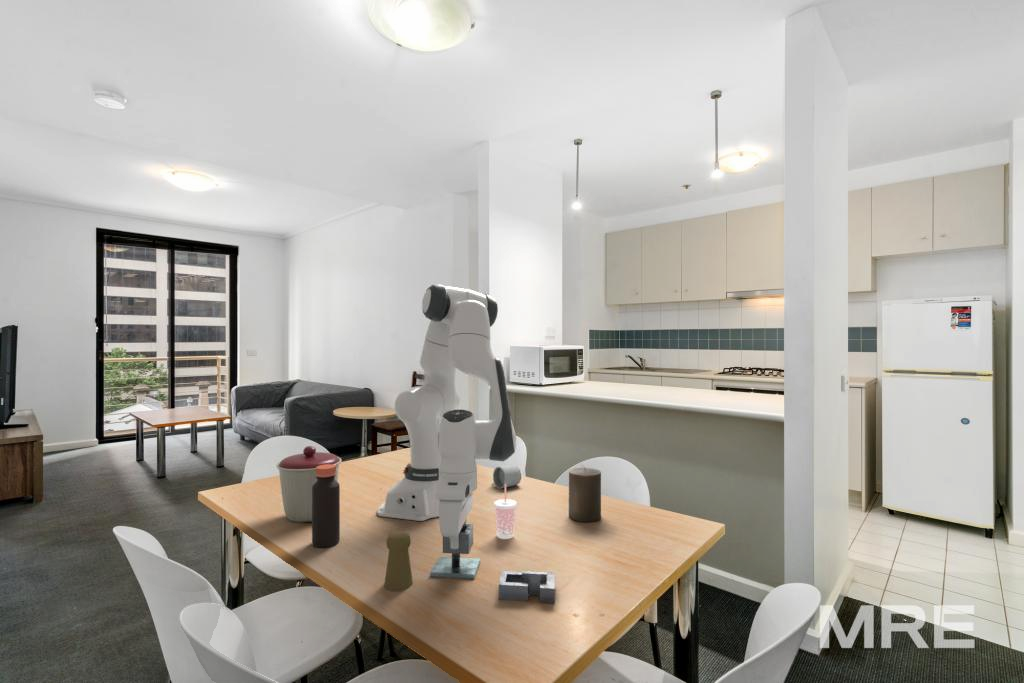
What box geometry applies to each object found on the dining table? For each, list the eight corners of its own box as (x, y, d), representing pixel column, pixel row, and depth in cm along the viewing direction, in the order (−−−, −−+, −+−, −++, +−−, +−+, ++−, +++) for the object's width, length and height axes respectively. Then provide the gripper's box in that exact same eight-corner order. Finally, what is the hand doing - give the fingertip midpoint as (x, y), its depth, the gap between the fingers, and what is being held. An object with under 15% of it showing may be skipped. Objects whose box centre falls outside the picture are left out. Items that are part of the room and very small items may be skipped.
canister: (266, 517, 150) (266, 446, 150) (324, 502, 163) (324, 437, 163) (292, 533, 137) (292, 456, 137) (352, 516, 151) (352, 446, 150)
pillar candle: (600, 523, 145) (601, 471, 145) (566, 521, 147) (567, 469, 147) (601, 512, 154) (601, 464, 154) (569, 510, 156) (570, 462, 156)
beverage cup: (512, 541, 132) (512, 488, 132) (490, 538, 134) (490, 486, 134) (519, 533, 138) (519, 482, 138) (499, 530, 140) (499, 480, 140)
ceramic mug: (523, 486, 181) (522, 465, 181) (504, 490, 176) (504, 469, 176) (505, 480, 189) (505, 460, 189) (487, 484, 184) (487, 463, 184)
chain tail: (498, 600, 102) (498, 578, 102) (502, 583, 109) (502, 563, 109) (554, 603, 101) (554, 581, 101) (555, 586, 108) (555, 566, 108)
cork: (386, 577, 112) (386, 528, 112) (414, 576, 112) (414, 527, 112) (382, 591, 106) (382, 539, 106) (411, 590, 106) (411, 538, 106)
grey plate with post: (430, 576, 113) (430, 536, 112) (439, 560, 120) (439, 523, 120) (474, 578, 111) (474, 538, 111) (480, 562, 119) (480, 524, 119)
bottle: (319, 550, 126) (319, 471, 126) (307, 543, 130) (307, 466, 130) (344, 542, 131) (344, 466, 131) (331, 535, 136) (331, 462, 135)
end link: (442, 553, 113) (442, 533, 113) (448, 542, 119) (448, 523, 119) (468, 554, 113) (468, 534, 113) (473, 543, 119) (473, 524, 119)
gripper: (453, 469, 127) (454, 524, 127) (433, 494, 106) (434, 559, 106) (478, 470, 126) (478, 524, 126) (463, 495, 106) (463, 560, 106)
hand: (458, 541), depth 116 cm, fingers closed on end link, 6 cm apart
